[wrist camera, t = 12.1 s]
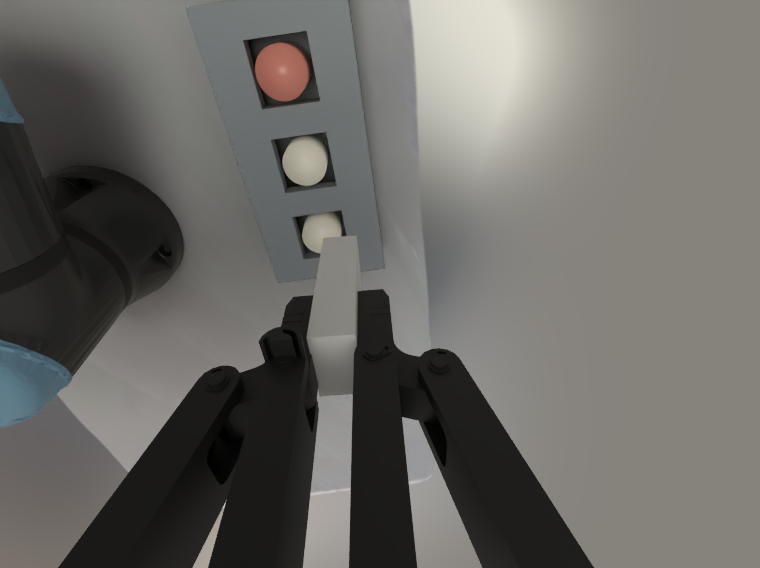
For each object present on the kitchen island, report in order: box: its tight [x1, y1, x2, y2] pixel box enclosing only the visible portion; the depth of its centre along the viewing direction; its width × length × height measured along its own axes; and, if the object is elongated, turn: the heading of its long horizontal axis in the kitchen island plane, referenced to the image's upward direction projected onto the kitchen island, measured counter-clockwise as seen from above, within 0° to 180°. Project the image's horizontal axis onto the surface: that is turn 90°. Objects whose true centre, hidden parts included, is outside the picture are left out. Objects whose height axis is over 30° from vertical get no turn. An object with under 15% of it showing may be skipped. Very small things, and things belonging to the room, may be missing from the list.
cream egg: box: [282, 133, 329, 186], centre depth 37 cm, size 4×4×5 cm
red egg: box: [255, 41, 312, 101], centre depth 32 cm, size 4×4×5 cm
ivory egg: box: [302, 210, 342, 254], centre depth 41 cm, size 4×4×5 cm
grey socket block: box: [186, 0, 385, 283], centre depth 37 cm, size 25×12×5 cm, turn 7°
